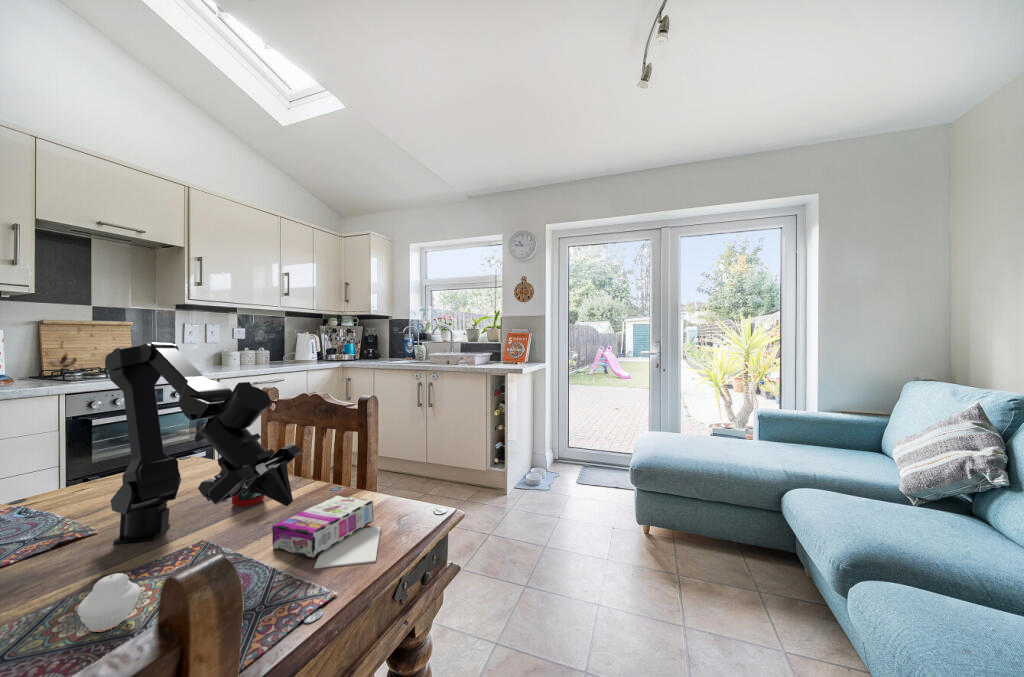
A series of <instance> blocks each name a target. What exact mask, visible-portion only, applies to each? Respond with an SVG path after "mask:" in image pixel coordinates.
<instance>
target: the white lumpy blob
mask: <svg viewBox="0 0 1024 677" xmlns="http://www.w3.org/2000/svg"><path fill="white" fill-rule="evenodd" d="M129 579H130V578H129V576H128V575H127V574H126V573H123V572H120V573H119V572H118V573H117V572H116V573H112V574H109V575H107V576H103V578H100V579H98V580H97V582H95V584H93V588H92V591H90V592H89V594H88V595H87V596H86V597H85V598H84V599H82V601H81V602H80V604H79V605H78V607H77V610H76V612H77V615H78V616H79V617H80V618H79V619H80V621H81V622H82V623H83V625H85V627H87V629H88V630H90V629H92V630H95V631H96V630H99V629H106V628H110V627H111V626H115V625H117V624H119V623H121V622H122V621H124V620H126V619H127V617H128V616H129V615H130V612H131V611H132V609H133V608H134V606H135V605H136V603H137V601H138V598H139V596H140V595H141V588H140V586H139V585H138V584H137V583H134V582H132V581H131V580H129ZM124 622H125V621H124Z"/></svg>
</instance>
